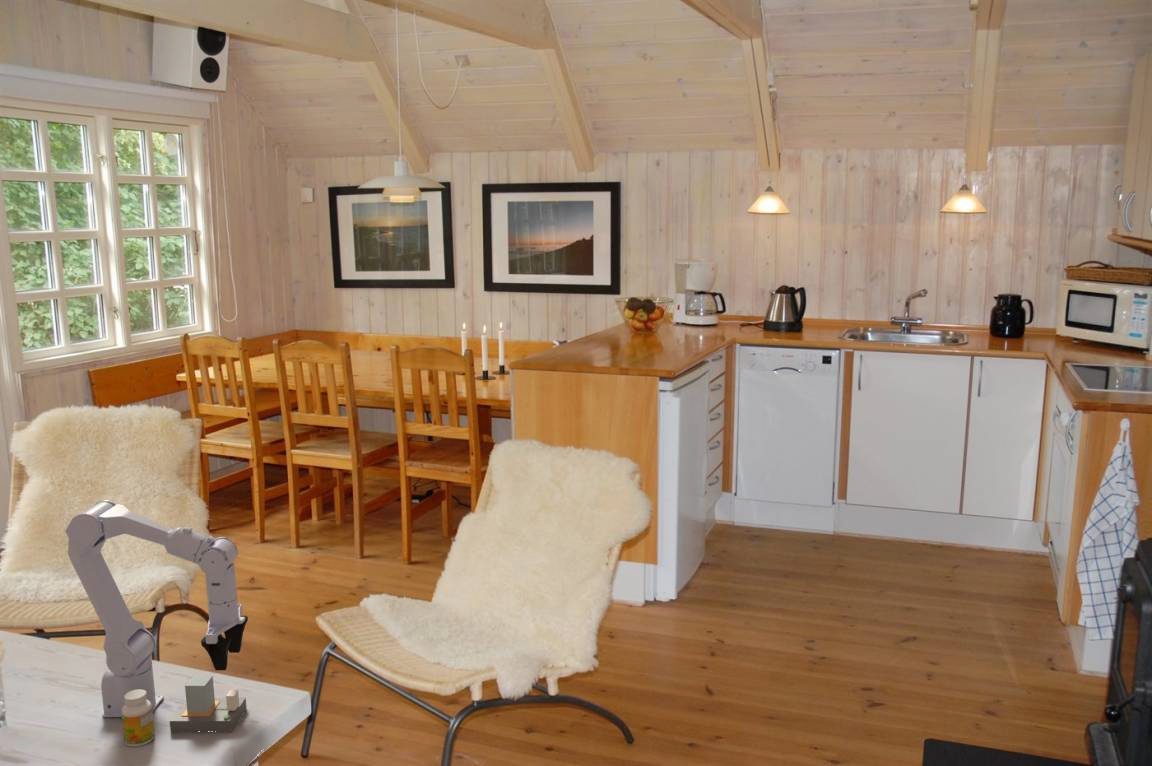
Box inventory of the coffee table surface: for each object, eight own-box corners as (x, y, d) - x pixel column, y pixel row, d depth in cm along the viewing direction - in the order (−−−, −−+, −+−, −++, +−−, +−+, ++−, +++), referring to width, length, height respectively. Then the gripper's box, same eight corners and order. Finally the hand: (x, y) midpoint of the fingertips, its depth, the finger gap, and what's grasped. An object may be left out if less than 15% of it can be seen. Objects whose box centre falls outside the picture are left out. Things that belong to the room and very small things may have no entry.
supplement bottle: (118, 743, 186) (113, 697, 184) (142, 729, 191) (137, 684, 189) (137, 750, 184) (132, 703, 182) (160, 736, 188) (156, 691, 187)
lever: (227, 710, 192) (225, 696, 192) (231, 704, 195) (230, 690, 194) (235, 710, 192) (233, 696, 192) (239, 704, 195) (238, 690, 194)
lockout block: (187, 713, 192) (184, 685, 191) (195, 703, 196) (193, 675, 195) (207, 713, 192) (204, 685, 191) (215, 703, 196) (212, 675, 194)
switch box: (170, 732, 190) (169, 719, 189) (188, 708, 199) (187, 696, 198) (230, 732, 190) (229, 719, 189) (246, 708, 199) (245, 696, 198)
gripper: (228, 613, 187) (234, 677, 190) (254, 584, 202) (259, 644, 204) (192, 613, 187) (199, 677, 190) (221, 584, 202) (226, 644, 204)
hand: (227, 660), depth 197 cm, fingers open, 7 cm apart
